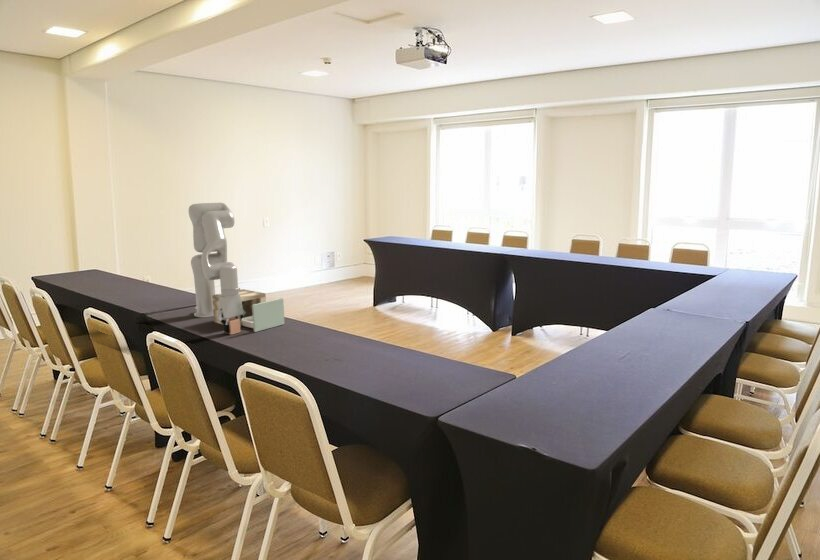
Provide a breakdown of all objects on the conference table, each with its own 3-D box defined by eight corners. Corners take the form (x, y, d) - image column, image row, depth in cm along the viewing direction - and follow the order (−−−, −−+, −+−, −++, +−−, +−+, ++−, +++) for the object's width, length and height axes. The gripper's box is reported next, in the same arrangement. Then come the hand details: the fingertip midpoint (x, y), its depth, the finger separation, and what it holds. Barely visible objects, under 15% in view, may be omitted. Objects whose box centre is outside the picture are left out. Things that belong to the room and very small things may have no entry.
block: (224, 332, 262) (223, 319, 261) (234, 330, 266) (233, 317, 265) (231, 334, 259) (230, 321, 258) (240, 332, 263) (239, 319, 262)
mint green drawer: (232, 326, 273) (230, 300, 271) (261, 318, 286) (260, 294, 284) (255, 331, 263) (253, 305, 260) (284, 323, 276) (283, 298, 273)
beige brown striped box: (214, 322, 282) (212, 295, 279) (245, 314, 296) (243, 289, 293) (236, 328, 271) (234, 300, 268) (267, 320, 285) (265, 293, 282)
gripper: (240, 288, 268) (243, 325, 271) (208, 294, 255) (211, 334, 258) (250, 290, 263) (253, 328, 267) (218, 296, 250) (221, 337, 254)
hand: (232, 330), depth 263 cm, fingers closed on block, 4 cm apart
